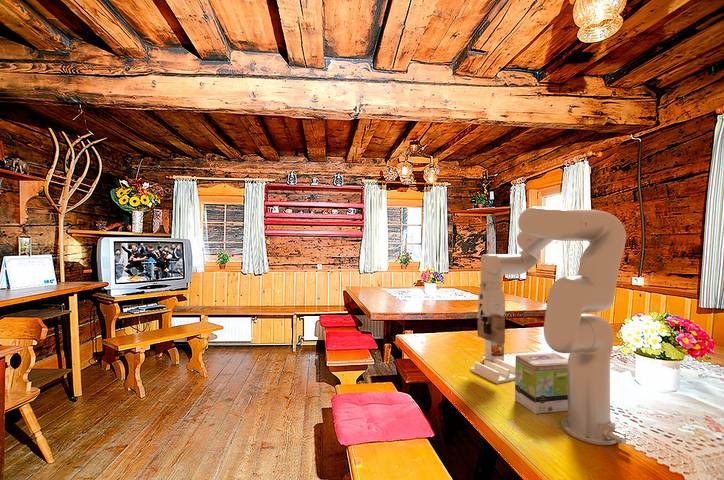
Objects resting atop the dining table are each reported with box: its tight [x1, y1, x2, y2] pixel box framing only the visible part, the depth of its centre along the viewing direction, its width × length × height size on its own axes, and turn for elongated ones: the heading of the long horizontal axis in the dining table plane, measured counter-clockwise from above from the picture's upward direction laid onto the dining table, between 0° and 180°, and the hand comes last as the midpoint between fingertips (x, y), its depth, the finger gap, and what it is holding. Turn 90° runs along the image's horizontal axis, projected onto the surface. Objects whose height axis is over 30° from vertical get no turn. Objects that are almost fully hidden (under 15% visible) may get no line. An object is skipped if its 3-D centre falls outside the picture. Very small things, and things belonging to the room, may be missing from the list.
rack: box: [469, 358, 516, 385], centre depth 129 cm, size 14×14×4 cm
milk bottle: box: [484, 339, 505, 363], centre depth 144 cm, size 8×8×20 cm
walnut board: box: [477, 315, 506, 344], centre depth 128 cm, size 11×3×10 cm, turn 23°
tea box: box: [514, 352, 568, 415], centre depth 104 cm, size 15×10×15 cm
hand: (490, 332), depth 128 cm, fingers closed on walnut board, 3 cm apart
